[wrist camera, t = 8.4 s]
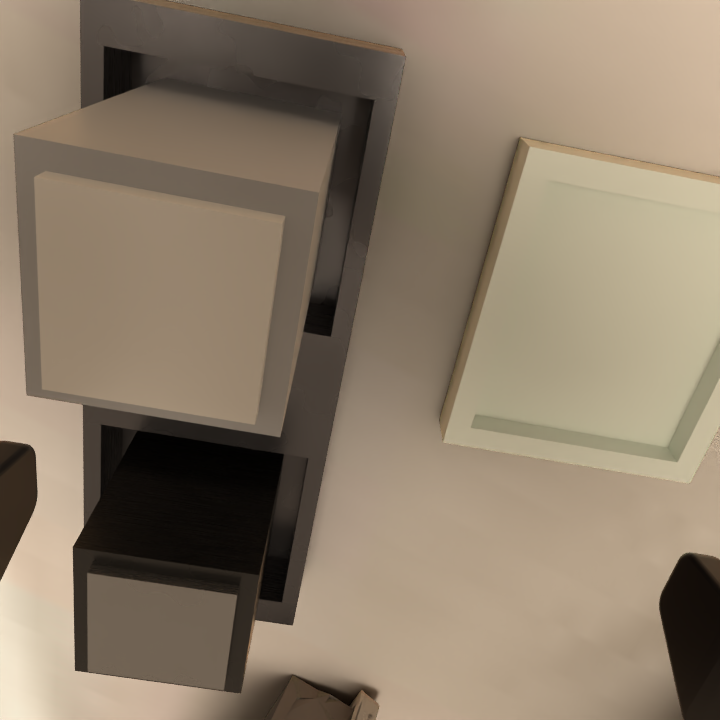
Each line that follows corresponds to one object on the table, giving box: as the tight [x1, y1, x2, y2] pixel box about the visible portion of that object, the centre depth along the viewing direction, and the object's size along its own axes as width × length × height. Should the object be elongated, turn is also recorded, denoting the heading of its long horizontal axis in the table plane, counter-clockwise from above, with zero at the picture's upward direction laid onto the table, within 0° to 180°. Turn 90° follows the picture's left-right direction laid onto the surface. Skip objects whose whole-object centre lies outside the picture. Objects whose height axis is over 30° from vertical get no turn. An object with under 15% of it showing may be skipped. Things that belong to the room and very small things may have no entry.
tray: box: [439, 137, 720, 484], centre depth 20 cm, size 9×8×1 cm
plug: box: [14, 78, 342, 437], centre depth 14 cm, size 4×4×8 cm
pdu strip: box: [73, 0, 406, 693], centre depth 18 cm, size 18×7×7 cm, turn 169°
